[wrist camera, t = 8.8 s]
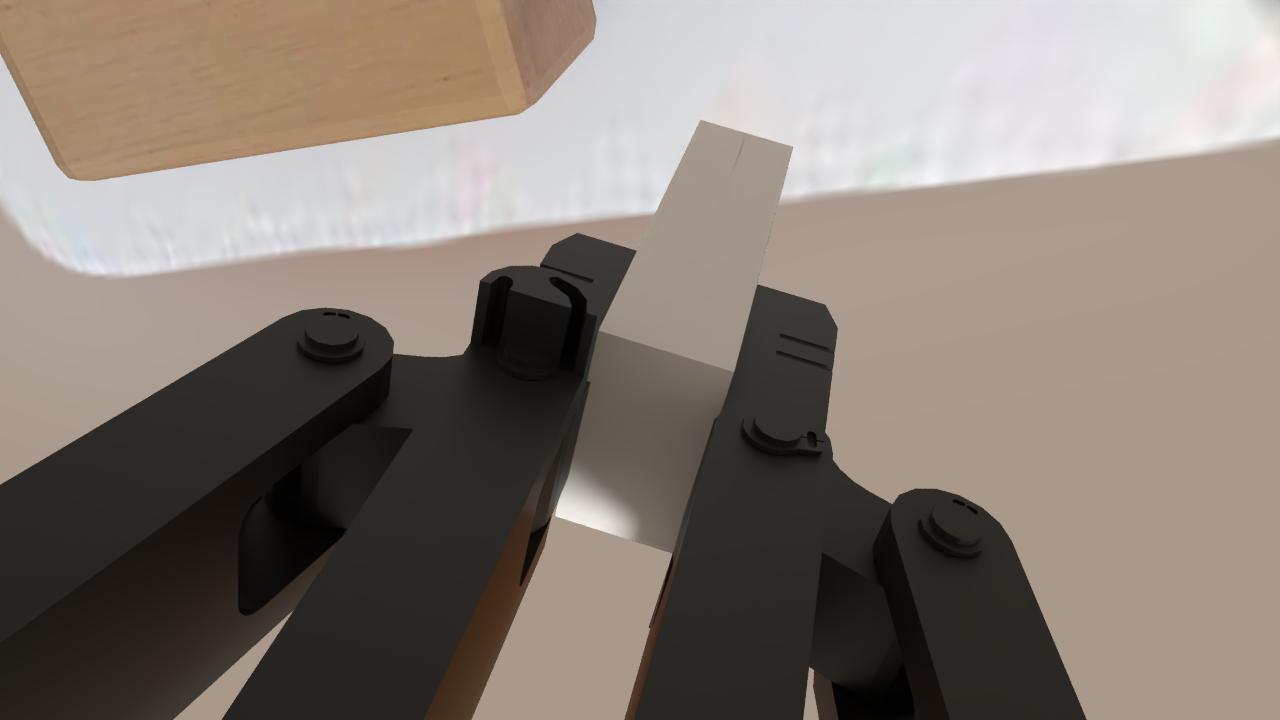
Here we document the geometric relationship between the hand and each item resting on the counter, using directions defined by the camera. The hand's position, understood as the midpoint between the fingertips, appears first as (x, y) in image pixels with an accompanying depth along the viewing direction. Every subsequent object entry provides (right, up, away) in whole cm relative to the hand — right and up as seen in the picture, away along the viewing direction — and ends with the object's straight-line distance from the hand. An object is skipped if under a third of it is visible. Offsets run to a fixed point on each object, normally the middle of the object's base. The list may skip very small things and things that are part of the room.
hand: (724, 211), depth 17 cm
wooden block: (-5, +12, +20) cm, 24 cm away
